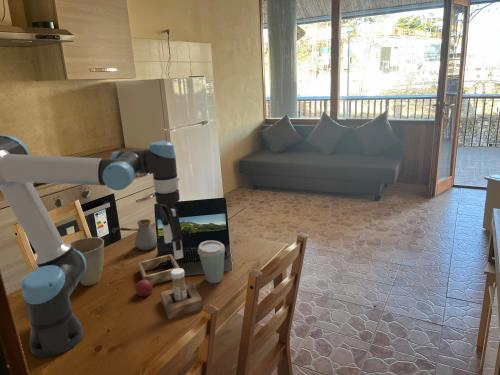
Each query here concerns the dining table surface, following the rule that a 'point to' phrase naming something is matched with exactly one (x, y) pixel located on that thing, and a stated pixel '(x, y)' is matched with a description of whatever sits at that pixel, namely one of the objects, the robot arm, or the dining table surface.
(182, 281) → the sprinkles bottle
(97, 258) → the plant pot
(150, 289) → the fruit
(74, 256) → the robot arm
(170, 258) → the open square frame
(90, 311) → the dining table surface
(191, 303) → the collar block
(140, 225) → the coffee pot
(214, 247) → the disposable coffee cup
